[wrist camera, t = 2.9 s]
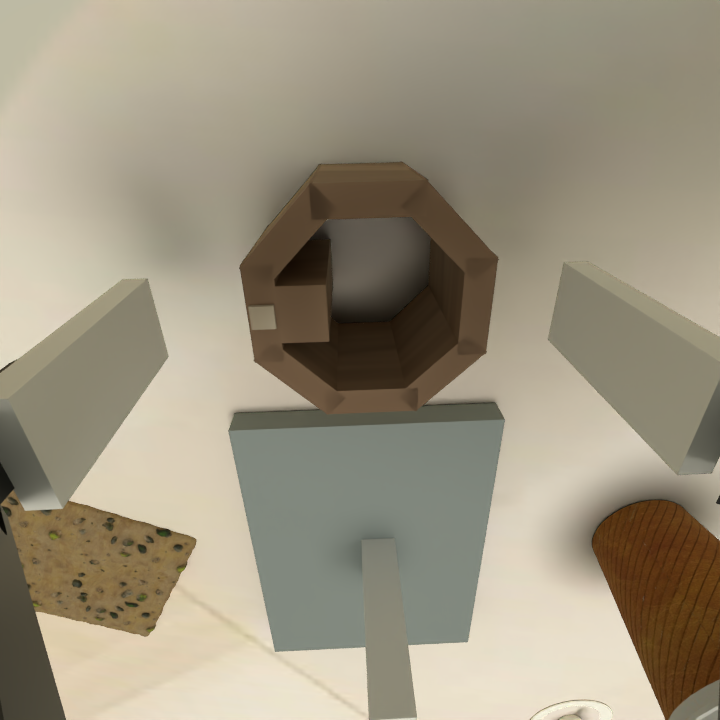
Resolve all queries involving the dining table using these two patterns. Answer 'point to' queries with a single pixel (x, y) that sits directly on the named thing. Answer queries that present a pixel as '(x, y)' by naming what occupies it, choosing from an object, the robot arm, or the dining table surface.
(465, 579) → the shaft board
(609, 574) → the disposable coffee cup
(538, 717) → the teacup and saucer
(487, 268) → the brown octagonal ring
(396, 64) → the dining table surface
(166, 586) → the speckled square slab
